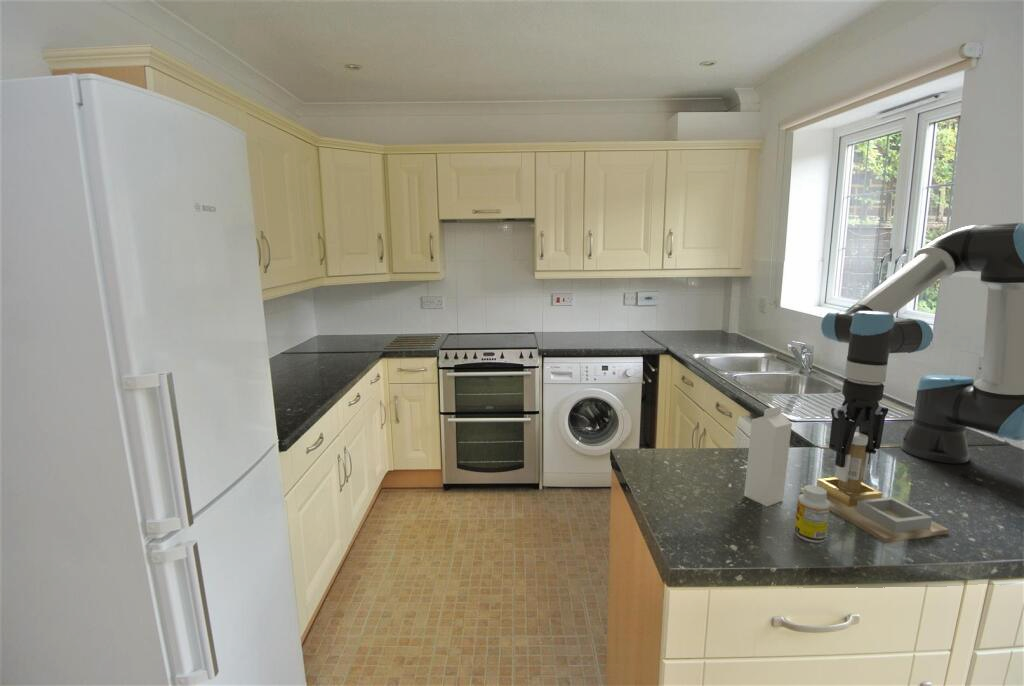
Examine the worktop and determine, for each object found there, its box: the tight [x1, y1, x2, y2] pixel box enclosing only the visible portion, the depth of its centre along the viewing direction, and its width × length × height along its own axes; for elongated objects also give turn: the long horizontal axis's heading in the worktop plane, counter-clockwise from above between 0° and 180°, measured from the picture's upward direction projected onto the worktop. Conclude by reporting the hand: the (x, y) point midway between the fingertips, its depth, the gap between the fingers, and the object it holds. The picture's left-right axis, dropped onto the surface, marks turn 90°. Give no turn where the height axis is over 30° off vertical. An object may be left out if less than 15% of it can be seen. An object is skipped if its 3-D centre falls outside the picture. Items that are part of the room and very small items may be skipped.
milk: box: [743, 405, 793, 507], centre depth 117 cm, size 6×6×22 cm
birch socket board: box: [799, 487, 950, 543], centre depth 113 cm, size 16×22×1 cm
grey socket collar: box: [856, 496, 933, 533], centre depth 108 cm, size 9×9×2 cm
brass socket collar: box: [816, 476, 884, 507], centre depth 118 cm, size 9×9×2 cm
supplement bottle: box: [794, 484, 831, 544], centre depth 102 cm, size 6×6×10 cm
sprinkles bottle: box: [838, 431, 868, 493], centre depth 117 cm, size 5×5×13 cm
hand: (850, 478), depth 118 cm, fingers closed on sprinkles bottle, 4 cm apart
